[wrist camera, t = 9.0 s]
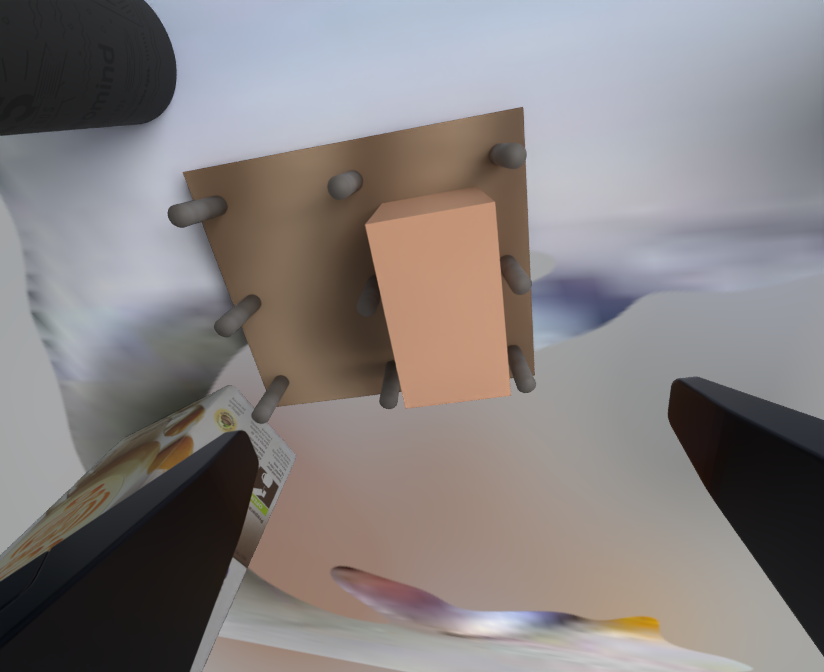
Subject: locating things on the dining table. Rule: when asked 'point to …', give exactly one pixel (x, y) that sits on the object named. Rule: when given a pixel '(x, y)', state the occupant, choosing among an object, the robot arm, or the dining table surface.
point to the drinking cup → (82, 65)
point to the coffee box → (149, 459)
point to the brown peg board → (350, 250)
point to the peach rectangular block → (442, 295)
